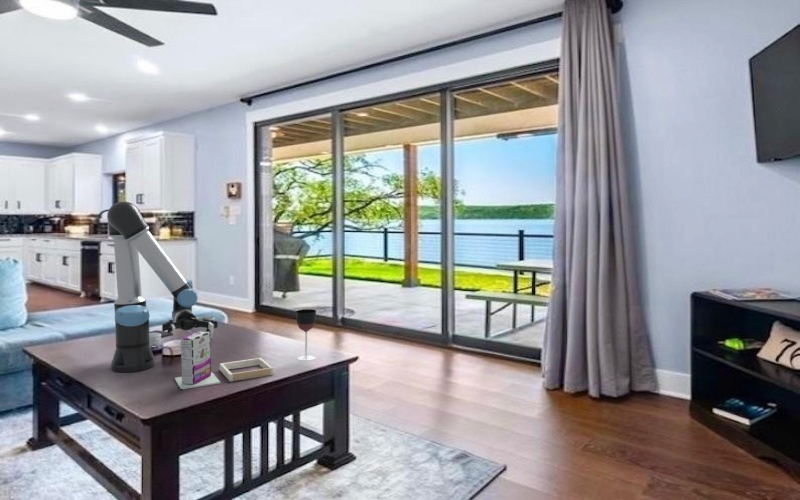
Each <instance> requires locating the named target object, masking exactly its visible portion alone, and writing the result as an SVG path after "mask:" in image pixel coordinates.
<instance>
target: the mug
mask: <svg viewBox="0 0 800 500" xmlns="http://www.w3.org/2000/svg"><path fill="white" fill-rule="evenodd" d="M195 317H196V319H200V320H202V318H205V319H208V320H213V321H216V317H214V316H210V315H209V316H206V315H205V316H195ZM195 326H196V325H195ZM192 329H193V332H192V331H191V330H185V332H186V333H188V334H189V335H191V334H194V333H196V332H199V331H202V332H210V340H211V339H213V336H214V335H213V334H214V332H211V331H210V330H209V329H208V328H204V327H198V328H194V327H193V328H192Z"/></svg>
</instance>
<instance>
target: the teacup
mask: <svg viewBox="0 0 800 500" xmlns="http://www.w3.org/2000/svg"><path fill="white" fill-rule="evenodd" d="M161 341H162V338H161V334H160V333H149V343H150V347H152V346H157V347H158V346H159V345H160V343H161ZM152 348H153V347H152Z"/></svg>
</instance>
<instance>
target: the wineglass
mask: <svg viewBox="0 0 800 500" xmlns="http://www.w3.org/2000/svg"><path fill="white" fill-rule="evenodd" d="M295 315H296V323H297V326H298V328H299V329H300V330H301V331H302V332H304V334H305V335H304V336H305V337H304V339H305V341H304V342H305V347H304V350H305V354H304V355H301V356H298V357H297V358H296V359H297V360H299V361H312V360H314V359H316V356H314V355H308V332H309V331H310V330H312V329H313V328H314V327H315V325H316V319H317V310H316V309H311V308H310V309H309V308H308V309H307V308H306V309H304V308H303V309H298V310H296V312H295ZM313 356H314V357H313Z"/></svg>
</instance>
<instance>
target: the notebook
mask: <svg viewBox="0 0 800 500" xmlns="http://www.w3.org/2000/svg"><path fill="white" fill-rule="evenodd" d="M167 332H168V331H162V330H159V329H158V330H157V329H156V330H152V331H149V333H160V334H161V339H163V338H166V337H167V338H168V337H171V336H174V335H173V334H172V332H171V333H167Z"/></svg>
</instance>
